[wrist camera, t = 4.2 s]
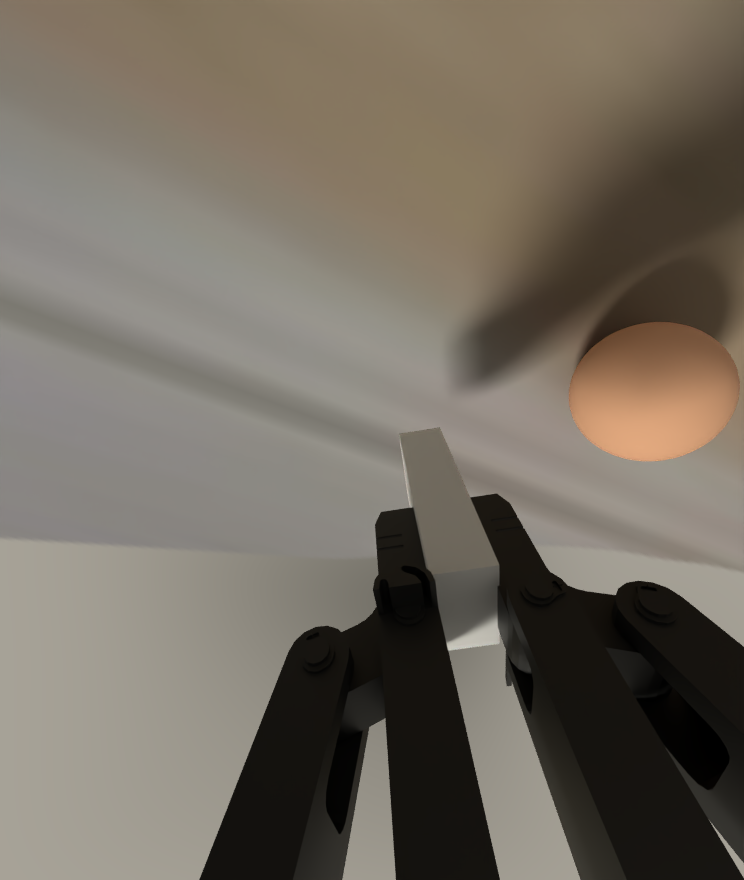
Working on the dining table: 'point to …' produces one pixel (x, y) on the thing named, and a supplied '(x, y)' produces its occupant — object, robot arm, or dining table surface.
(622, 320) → the dining table surface
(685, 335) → the orange sphere
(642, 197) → the dining table surface
